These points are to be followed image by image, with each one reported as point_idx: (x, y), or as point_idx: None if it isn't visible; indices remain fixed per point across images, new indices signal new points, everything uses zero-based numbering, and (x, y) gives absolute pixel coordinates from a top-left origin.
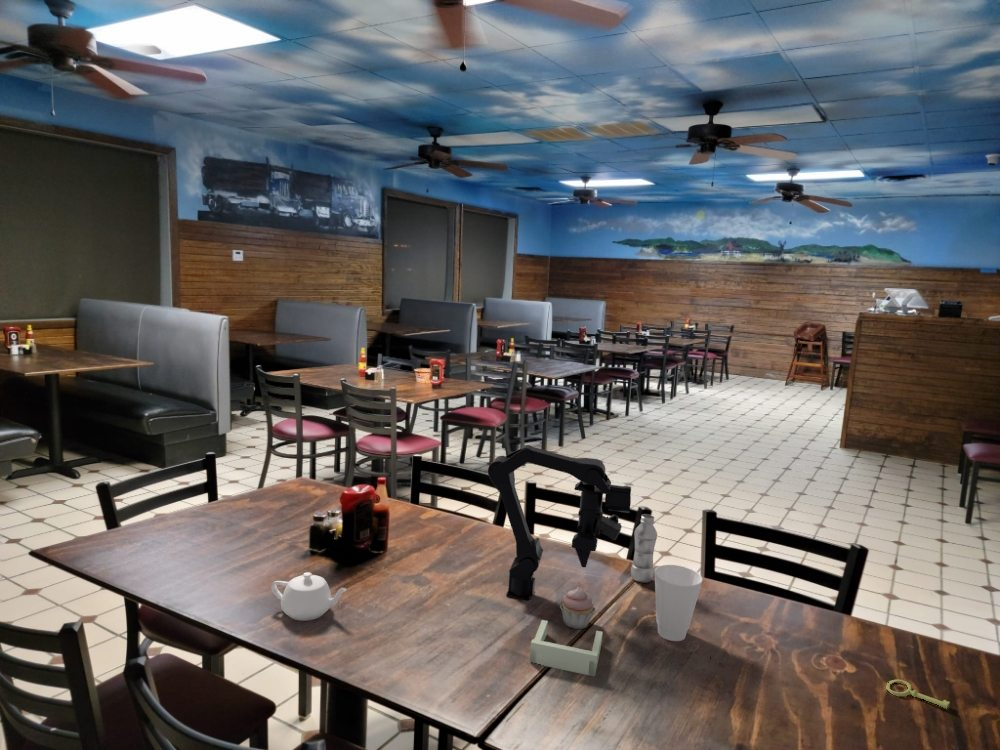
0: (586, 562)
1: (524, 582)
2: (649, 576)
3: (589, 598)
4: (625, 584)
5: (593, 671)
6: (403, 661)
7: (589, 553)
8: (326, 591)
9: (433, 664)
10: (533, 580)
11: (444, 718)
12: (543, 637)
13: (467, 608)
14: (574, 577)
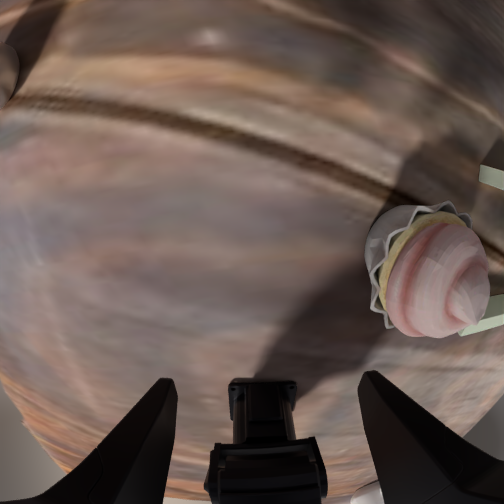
0: (408, 399)
1: (292, 428)
2: (4, 44)
3: (471, 247)
4: (36, 114)
5: None
6: (469, 412)
7: (485, 454)
8: (383, 500)
9: (481, 392)
10: (272, 419)
11: None
12: (488, 307)
13: (353, 434)
14: (75, 291)
